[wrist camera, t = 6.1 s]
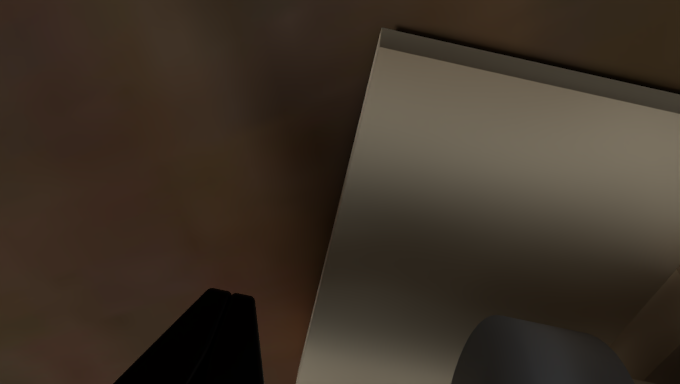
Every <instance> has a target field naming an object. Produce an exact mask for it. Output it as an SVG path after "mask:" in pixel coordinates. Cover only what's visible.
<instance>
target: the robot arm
mask: <svg viewBox="0 0 680 384" xmlns="http://www.w3.org/2000/svg"><path fill="white" fill-rule="evenodd" d="M113 384H264V377H263V368H262V360H261V351H260V342H259V333H258V324H257V315H256V307H255V300H254V298H253V297H252V296H248V295H243V294H239V293H234V294H232V295H231V293H230V292H228V291H225V290H220V289H215V288H210V289H208V290H207V291H206V292H205V293H204V294H203V295H202V296H201V297H200V298H199V299H198V300H197V301H196V302H195V303H194V304H193V305H192V306H191V307H190V308H189V309H188V310H187V311H186V312H185V313H184V314H183V315H182V316H181V317H180V318H179V319H178V320H177V321H176V322H175V323H174V324H173V325H172V326H171V327H170V328H168V329H167V330H166V331H165V332H164V333H163V334H162V335H161V336H160V337H159V338H158V339H157V340H156V341H155V342H154V343H153V344H152V345H151V346H150V347H149V348H148V349H147V350H146V351H145V352H144V353H143V354H142V355H141V356H140V357H139V358H138V359H137V360H136V361H135V362H134V363H133V364H132V365H131V366H130V367H129V368H128V369H127V370H126V371H125V372H124V373H123V374H122V375H121V376H120V377H119V378H118V379H117V380H116V381H115V382H114V383H113Z"/></svg>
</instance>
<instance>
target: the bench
mask: <svg viewBox="0 0 680 384" xmlns="http://www.w3.org/2000/svg"><path fill="white" fill-rule="evenodd" d="M492 315H501V316H506V317H511V318H516V319H521V320H526V321H530V322H535V323H540V324H545V325H550V326H555V327H559V328H564V329H569V330H574V331H579V332H583V333H588V334H591V335H593V336H595V337H597V338H599V339H600V340H602V341H603V342H604V343H606V344H607V345H608V346H609V347H610V348H611V349H612V350H613V351H614V352H615V353H616V354H617V356H618V357H619V358H620V360H621V361H622V362H623V364H624V365H625V367H626V369H627V370H628V372H629V374H630V376H631V378H632V379H636V380H641V381H645V382H650V383H655V384H680V95H679V94H675V93H671V92H666V91H662V90H657V89H653V88H648V87H644V86H639V85H635V84H631V83H626V82H622V81H617V80H613V79H608V78H604V77H599V76H595V75H590V74H586V73H582V72H577V71H573V70H568V69H564V68H559V67H555V66H550V65H546V64H542V63H537V62H533V61H528V60H524V59H519V58H515V57H510V56H506V55H502V54H497V53H493V52H488V51H484V50H479V49H475V48H470V47H466V46H461V45H457V44H453V43H448V42H444V41H439V40H435V39H430V38H426V37H421V36H417V35H413V34H408V33H404V32H399V31H395V30H390V29H386V28H381V32H380V37H379V41H378V45H377V49H376V53H375V57H374V61H373V65H372V69H371V73H370V78H369V82H368V86H367V90H366V94H365V98H364V102H363V106H362V110H361V115H360V119H359V123H358V127H357V131H356V135H355V139H354V143H353V147H352V152H351V156H350V160H349V164H348V168H347V172H346V176H345V180H344V184H343V188H342V193H341V197H340V201H339V205H338V209H337V213H336V217H335V221H334V225H333V230H332V234H331V238H330V242H329V246H328V250H327V254H326V258H325V262H324V266H323V271H322V275H321V279H320V283H319V287H318V291H317V295H316V299H315V303H314V308H313V312H312V316H311V320H310V324H309V328H308V332H307V336H306V340H305V344H304V349H303V353H302V357H301V361H300V365H299V369H298V375H297V380H296V384H451V382H452V378H453V375H454V371H455V368H456V365H457V362H458V360H459V357H460V355H461V352H462V350H463V347H464V345H465V344H466V342H467V340H468V338H469V336H470V335H471V333H472V332H473V330H474V329H475V328H476V326H477V325H478V324H479V323H480V322H481V321H483V320H484V319H485V318H487V317H489V316H492Z"/></svg>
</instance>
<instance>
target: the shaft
mask: <svg viewBox="0 0 680 384" xmlns="http://www.w3.org/2000/svg"><path fill="white" fill-rule="evenodd" d="M451 384H655V383H650V382H645V381H641V380H636V379H632V378H631V376H630V374H629V372H628V370H627V369H626V367H625V365H624V364H623V362H622V361H621V360H620V358H619V357H618V356H617V354H616V353H615V352H614V351H613V350H612V349H611V348H610V347H609V346H608V345H607V344H606V343H604V342H603V341H602V340H600V339H599V338H597V337H595V336H593V335H591V334H588V333H583V332H579V331H574V330H569V329H564V328H559V327H555V326H550V325H545V324H540V323H535V322H530V321H526V320H521V319H516V318H511V317H506V316H501V315H492V316H489V317H487V318H485V319H484V320H483V321H481V322H480V323H479V324H478V325H477V326H476V328H475V329H474V330H473V332H472V333H471V335H470V336H469V338H468V340H467V342H466V344H465V345H464V347H463V350H462V352H461V355H460V357H459V360H458V362H457V365H456V368H455V371H454V375H453V378H452V382H451Z"/></svg>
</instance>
